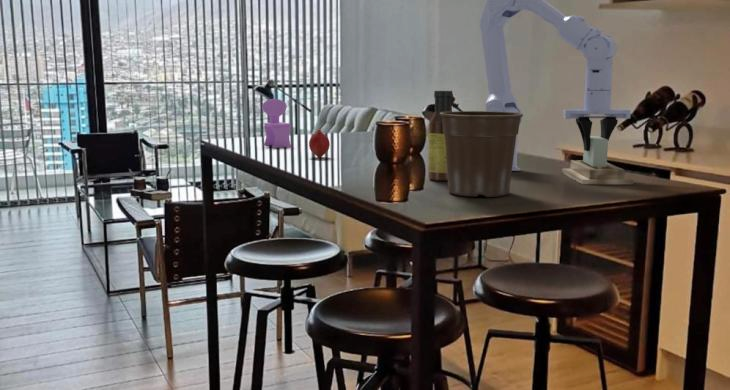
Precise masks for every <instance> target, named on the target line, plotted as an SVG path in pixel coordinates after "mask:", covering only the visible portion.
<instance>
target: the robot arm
mask: <svg viewBox="0 0 730 390" xmlns="http://www.w3.org/2000/svg"><path fill="white" fill-rule="evenodd" d="M522 11H525V12H526V11H527V12H531V13H533V14H535V15H536V16H537V17H538V18H541V19H542V20H544V21H545V22H547V23H549V24H550V25H552V26H553V27H555V28H556V29H557V34H558V37H559V38H560V39H562V40H563V41H565V42H566V43H568V44H569V45H570V46H572V47H573V48H574V49H577V50H578V51H579V52H580V53H582V54H583V56H584V58H585V59H586V65H585V66H586V67H585V78H584V79H585V80H584V81H585V82H584V99H583V109H563V116H562V117H563V119H565V120H568V119H569V120H570V119H575V122H576V125H577V126H578V130H579V132H580V135H581V139H582V144H583V151H584V150H585V151H590V136H592V135H591V134H592V126H593V121H592V120H591V119H600V121H599V122H600V137H602V138H604V139H607V140H608V142H609V140H610V138H611V135H612V133H613V132H614V130H615V128H616V126H617V125H618V123H619V122H618V119H627V120H628V119H631V113H632V111H631V109H613V108H612V109H611V106H612V105H611V103H612V90H613V89H612V86H613V72H614V71H613V65H614V63H613V61H614V60H613V59H614V57H615V55H616V54H617V49H618V47H617V43H616V41H615V40H614V39H613V38H612V37H611V36H610V35H606V34H605V35H602V32H603V31H602V29H600V28H595V27H593V26H591V25H590V24H588V23H587V22H586V18H585V17H583V16H582V15H578V16H577V15H575V14H574V15H573V14H572V15H569V16H566V15H565V14H564V13H562V12H561V11H560V10H558V9H557V8H556V7H554V6H553V5H552V4H550V3H548V1H546V0H485V4H484V7H483V11H482V14H481V16H480V20H479V23H480V25H479V27H480V35H481V43H482V47H483V48H482V49H483V56H484V57H483V58H484V64H485V71H486V79H487V86H488V98H487V99H486V101H485V111H488V112H514V113H522V112H521V110H520V108H519V107H518V103H517V99H516V97H515V95H514V94H513V92H512V87H511V80H510V71H509V65H508V56H507V48H506V39H505V33H504V27H505V26H506V24H507V23H508V22H509V21H510V20H511V18H513V17H514V16H516V15H517V14H518V13H520V12H522ZM522 120H523V116H522V117H521V118H520V124H519V126H520V125H521V123H522ZM518 135H519V133H518V134H517V135H516V142H515V149H514V157H513V165H512V172H520V171H521V170H522V169H521V168H520V167H518V166H517V162H518V138H519V136H518Z"/></svg>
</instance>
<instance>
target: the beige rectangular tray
mask: <svg viewBox="0 0 730 390" xmlns="http://www.w3.org/2000/svg"><path fill="white" fill-rule="evenodd" d="M569 163H570V167H569V168H561V173H562V174H564V175H565V176H567V177H568V178H571V180H574V181H575V180H576V181H575V182H577V183H579V184H580V183H581V184H580V185H634V181H635V180H634V179H633V178H631V177H628V176H626V170H625V169H624V168H622V167H619V166H616V165H614V164H611V163H609V162H607V167H593V166H591V165H589V164H587V163H585V162H583V159H582V160H581V159H580V160H573V159H571V160H570V162H569Z"/></svg>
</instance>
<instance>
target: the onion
mask: <svg viewBox="0 0 730 390" xmlns="http://www.w3.org/2000/svg"><path fill="white" fill-rule="evenodd" d="M330 145H331V144H330V140H329V137H328V136H327V135H326V134H325V133H324V132H322V129H320V128H319V129H317V131H316V132H315V133H313V134H312V135H311V137H310V139H309V142H308V146H309V150H310V151H311V152H312V153H313V155H315V156H316V157H317V158H322V157H323V156H325V154H326V153H327V152H328V151H329V149H330Z"/></svg>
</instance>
